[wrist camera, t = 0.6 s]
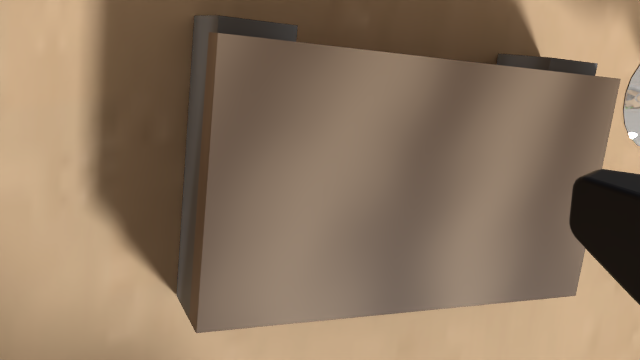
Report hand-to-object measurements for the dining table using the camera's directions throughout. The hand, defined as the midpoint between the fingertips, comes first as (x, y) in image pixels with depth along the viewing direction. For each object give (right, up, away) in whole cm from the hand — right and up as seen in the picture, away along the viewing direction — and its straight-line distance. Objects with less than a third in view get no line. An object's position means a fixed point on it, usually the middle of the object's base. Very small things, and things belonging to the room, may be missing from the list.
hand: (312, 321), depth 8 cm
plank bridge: (+2, +2, +17) cm, 17 cm away
